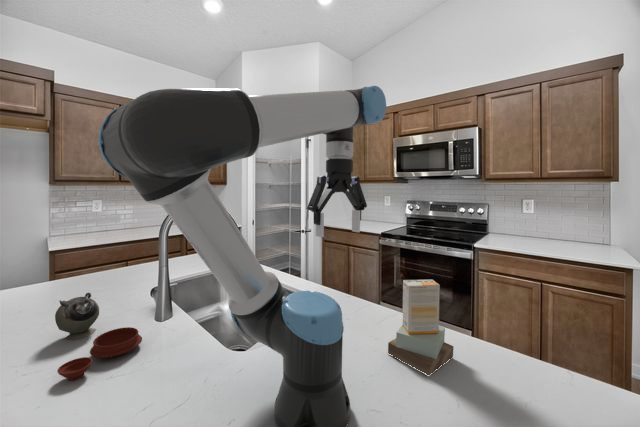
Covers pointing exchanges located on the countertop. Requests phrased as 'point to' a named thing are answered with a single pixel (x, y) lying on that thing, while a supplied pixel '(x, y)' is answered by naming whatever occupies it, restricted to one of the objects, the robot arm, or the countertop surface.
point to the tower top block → (421, 342)
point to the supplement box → (421, 306)
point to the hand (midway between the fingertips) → (338, 234)
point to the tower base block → (421, 357)
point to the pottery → (102, 351)
